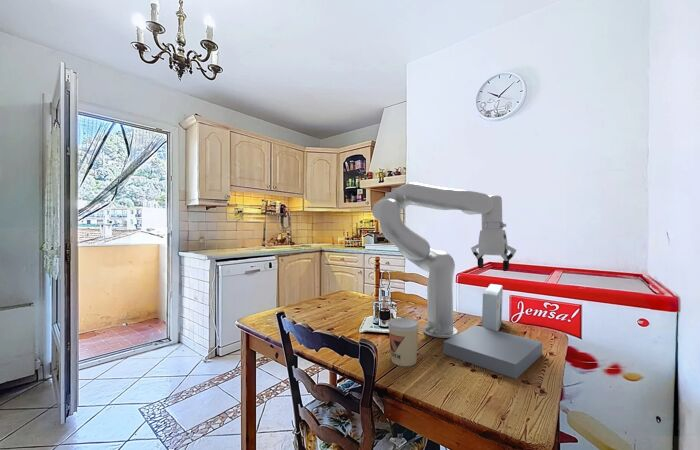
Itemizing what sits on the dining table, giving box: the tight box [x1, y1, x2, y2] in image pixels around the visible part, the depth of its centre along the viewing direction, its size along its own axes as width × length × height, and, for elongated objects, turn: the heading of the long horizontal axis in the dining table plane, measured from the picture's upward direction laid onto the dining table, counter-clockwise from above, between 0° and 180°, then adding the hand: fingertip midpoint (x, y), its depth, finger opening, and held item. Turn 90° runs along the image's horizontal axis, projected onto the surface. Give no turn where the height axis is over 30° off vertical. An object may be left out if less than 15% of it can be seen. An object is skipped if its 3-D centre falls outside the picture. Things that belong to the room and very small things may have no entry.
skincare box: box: [481, 283, 504, 331], centre depth 121 cm, size 21×5×16 cm, turn 148°
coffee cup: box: [388, 317, 420, 367], centre depth 95 cm, size 9×9×12 cm
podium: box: [442, 324, 543, 380], centre depth 98 cm, size 22×22×4 cm
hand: (492, 269), depth 121 cm, fingers open, 9 cm apart
